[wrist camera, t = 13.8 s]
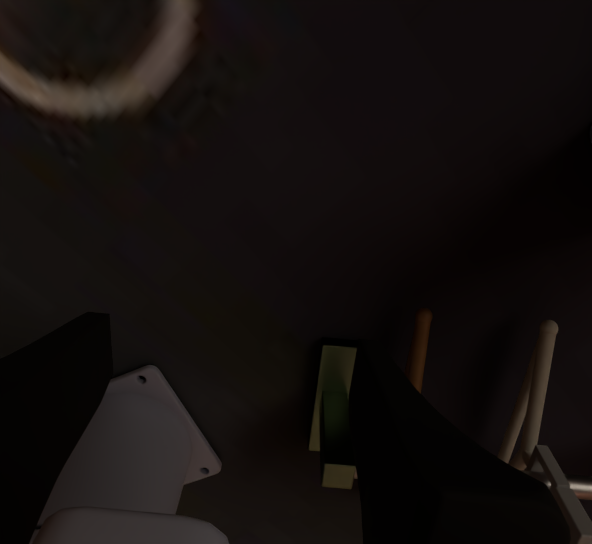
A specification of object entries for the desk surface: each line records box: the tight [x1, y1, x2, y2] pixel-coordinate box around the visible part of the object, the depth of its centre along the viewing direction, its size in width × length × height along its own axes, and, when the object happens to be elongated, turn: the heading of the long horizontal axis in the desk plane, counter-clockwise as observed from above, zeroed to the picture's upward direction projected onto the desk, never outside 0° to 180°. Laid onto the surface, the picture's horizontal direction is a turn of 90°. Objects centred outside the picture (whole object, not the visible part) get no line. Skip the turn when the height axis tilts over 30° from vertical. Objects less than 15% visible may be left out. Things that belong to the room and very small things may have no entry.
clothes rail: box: [308, 337, 592, 500], centre depth 26 cm, size 7×21×6 cm, turn 84°
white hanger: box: [497, 320, 592, 544], centre depth 24 cm, size 13×1×8 cm, turn 174°
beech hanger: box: [404, 308, 432, 394], centre depth 24 cm, size 13×1×8 cm, turn 174°
